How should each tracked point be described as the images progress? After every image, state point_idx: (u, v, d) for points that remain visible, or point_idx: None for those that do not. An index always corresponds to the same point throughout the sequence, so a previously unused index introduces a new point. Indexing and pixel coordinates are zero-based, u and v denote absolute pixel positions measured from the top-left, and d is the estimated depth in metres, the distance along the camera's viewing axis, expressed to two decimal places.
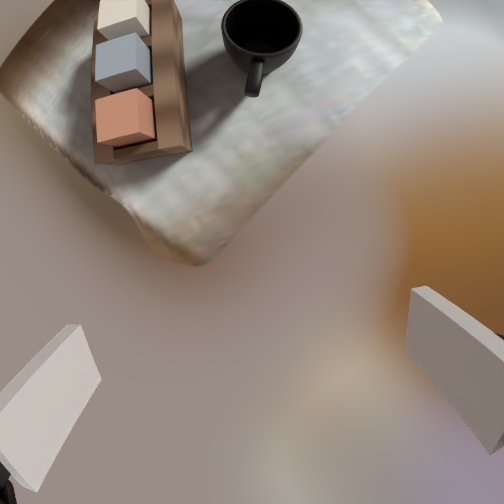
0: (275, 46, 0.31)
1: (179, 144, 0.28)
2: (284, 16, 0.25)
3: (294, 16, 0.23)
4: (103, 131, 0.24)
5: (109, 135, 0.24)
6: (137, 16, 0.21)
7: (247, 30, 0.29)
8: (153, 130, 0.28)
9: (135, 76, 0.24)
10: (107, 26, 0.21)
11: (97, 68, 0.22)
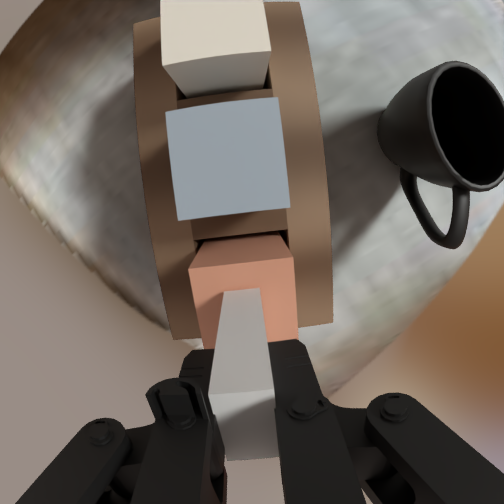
0: None
1: (330, 321, 0.18)
2: (479, 101, 0.14)
3: None
4: None
5: None
6: (270, 50, 0.10)
7: None
8: None
9: None
10: (190, 61, 0.10)
11: (179, 185, 0.11)
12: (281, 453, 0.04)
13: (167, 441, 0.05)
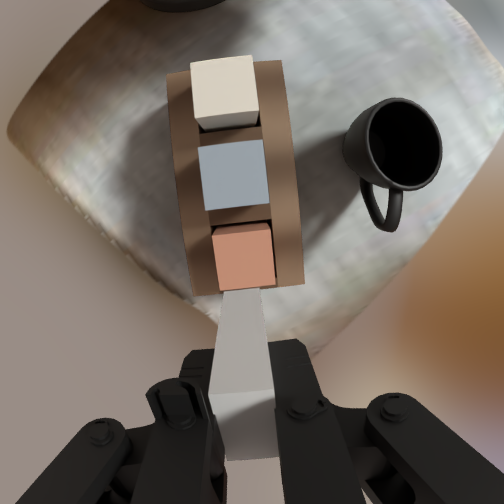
0: (384, 140, 0.29)
1: (303, 283, 0.26)
2: (417, 123, 0.23)
3: (434, 133, 0.21)
4: (227, 278, 0.23)
5: (237, 285, 0.23)
6: (258, 109, 0.19)
7: None
8: None
9: None
10: (211, 116, 0.19)
11: (206, 190, 0.20)
12: (281, 453, 0.04)
13: (167, 441, 0.05)
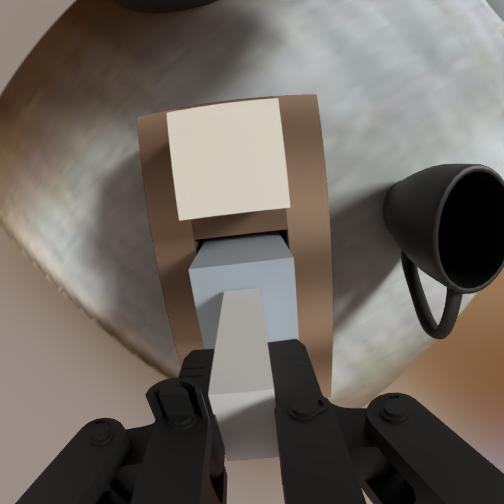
0: None
1: (328, 396, 0.20)
2: (487, 191, 0.16)
3: None
4: None
5: None
6: (288, 202, 0.12)
7: None
8: None
9: None
10: None
11: (206, 331, 0.13)
12: (281, 453, 0.04)
13: (167, 441, 0.05)
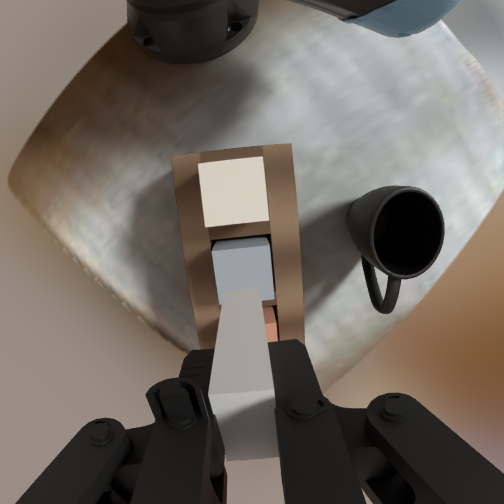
0: (388, 209, 0.31)
1: None
2: (422, 205, 0.25)
3: (438, 219, 0.23)
4: None
5: None
6: (268, 217, 0.21)
7: None
8: None
9: None
10: None
11: (220, 288, 0.23)
12: (281, 453, 0.04)
13: (167, 441, 0.05)
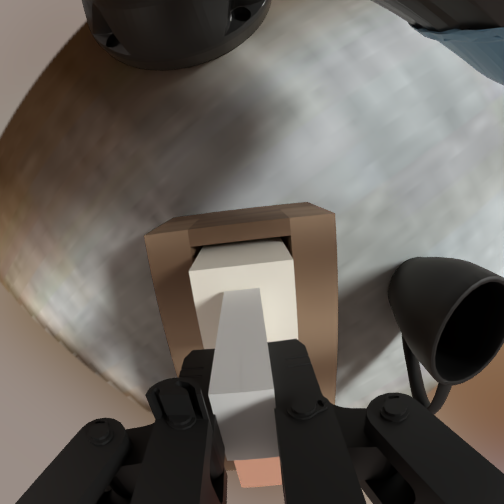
0: None
1: None
2: (491, 285, 0.16)
3: None
4: (250, 481, 0.17)
5: (260, 484, 0.17)
6: None
7: None
8: None
9: None
10: None
11: None
12: (281, 453, 0.04)
13: (167, 441, 0.05)
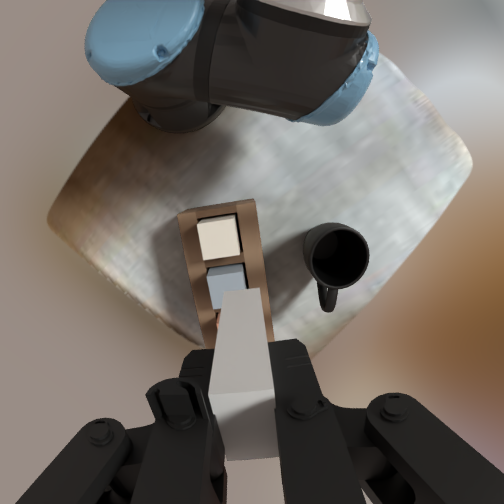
0: (336, 234, 0.45)
1: None
2: (354, 235, 0.38)
3: (364, 246, 0.37)
4: None
5: None
6: (239, 252, 0.36)
7: None
8: None
9: None
10: None
11: (213, 299, 0.37)
12: (281, 453, 0.04)
13: (167, 441, 0.05)
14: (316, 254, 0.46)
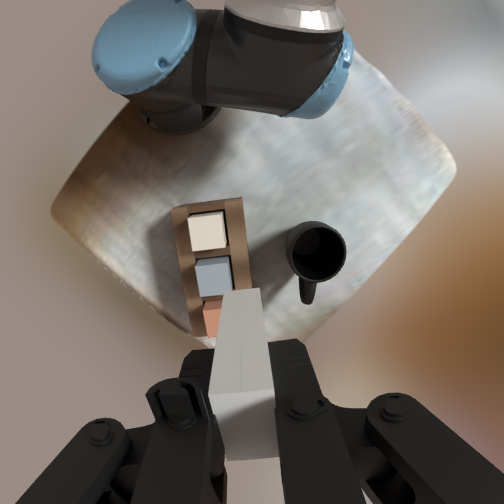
0: (319, 232, 0.48)
1: None
2: (333, 233, 0.42)
3: (341, 243, 0.40)
4: (211, 331, 0.42)
5: None
6: (225, 245, 0.40)
7: None
8: None
9: None
10: None
11: (200, 287, 0.41)
12: (281, 453, 0.04)
13: (167, 441, 0.05)
14: (299, 250, 0.50)
